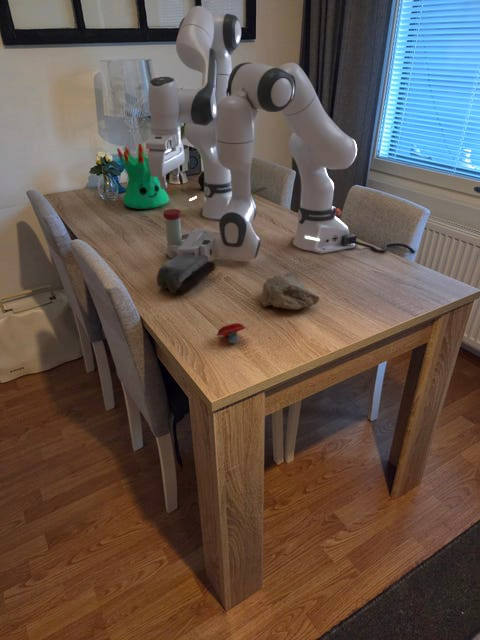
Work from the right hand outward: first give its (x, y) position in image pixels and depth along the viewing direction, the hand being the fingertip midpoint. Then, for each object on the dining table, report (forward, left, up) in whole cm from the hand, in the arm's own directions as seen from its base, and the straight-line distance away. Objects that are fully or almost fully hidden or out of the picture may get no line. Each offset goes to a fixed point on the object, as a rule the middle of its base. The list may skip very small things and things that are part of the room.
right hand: (173, 241), depth 152 cm
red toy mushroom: (-9, +56, -5) cm, 57 cm away
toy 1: (+7, -61, -5) cm, 62 cm away
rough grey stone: (-28, +39, -5) cm, 48 cm away
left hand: (0, 0, +19) cm, 19 cm away
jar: (-1, 0, -5) cm, 5 cm away
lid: (0, 0, +10) cm, 10 cm away
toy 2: (-27, -79, -5) cm, 84 cm away
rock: (-2, +23, -5) cm, 24 cm away
